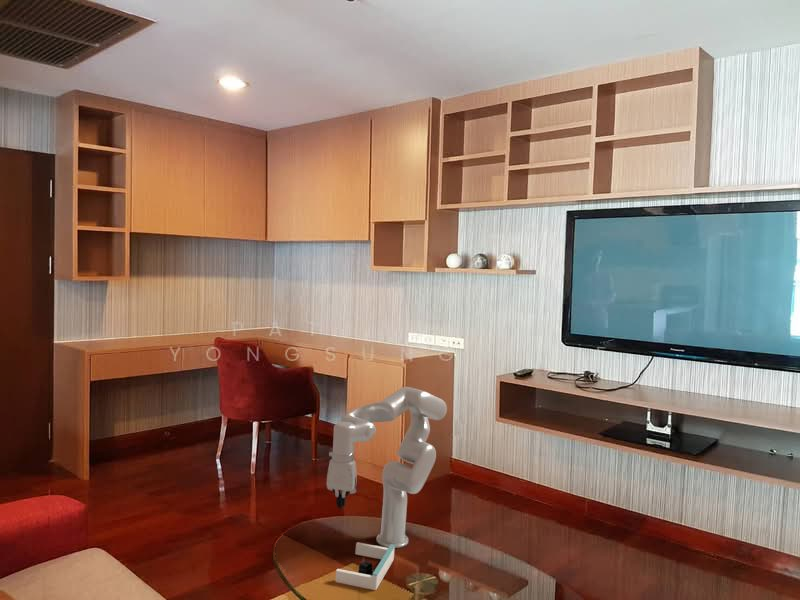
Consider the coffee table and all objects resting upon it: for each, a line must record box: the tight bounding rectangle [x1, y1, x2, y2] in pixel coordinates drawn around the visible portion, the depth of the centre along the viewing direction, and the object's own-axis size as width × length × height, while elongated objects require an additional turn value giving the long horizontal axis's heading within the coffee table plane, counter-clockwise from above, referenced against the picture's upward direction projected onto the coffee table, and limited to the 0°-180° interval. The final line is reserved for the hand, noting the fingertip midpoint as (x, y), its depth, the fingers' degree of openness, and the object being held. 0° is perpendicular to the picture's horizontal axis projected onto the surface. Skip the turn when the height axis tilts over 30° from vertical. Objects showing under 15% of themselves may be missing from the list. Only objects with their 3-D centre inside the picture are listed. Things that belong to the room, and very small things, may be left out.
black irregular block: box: [356, 559, 375, 576], centre depth 218 cm, size 12×7×5 cm, turn 146°
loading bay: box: [334, 541, 396, 591], centre depth 221 cm, size 23×14×5 cm, turn 166°
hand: (340, 506), depth 223 cm, fingers closed
